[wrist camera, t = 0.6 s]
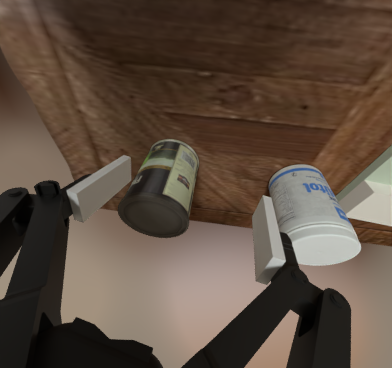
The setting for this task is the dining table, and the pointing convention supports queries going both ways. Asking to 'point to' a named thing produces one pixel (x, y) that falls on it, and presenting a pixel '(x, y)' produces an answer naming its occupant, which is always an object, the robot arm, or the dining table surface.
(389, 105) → the dining table surface
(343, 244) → the supplement tub
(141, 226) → the coffee can
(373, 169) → the rail
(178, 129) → the dining table surface
